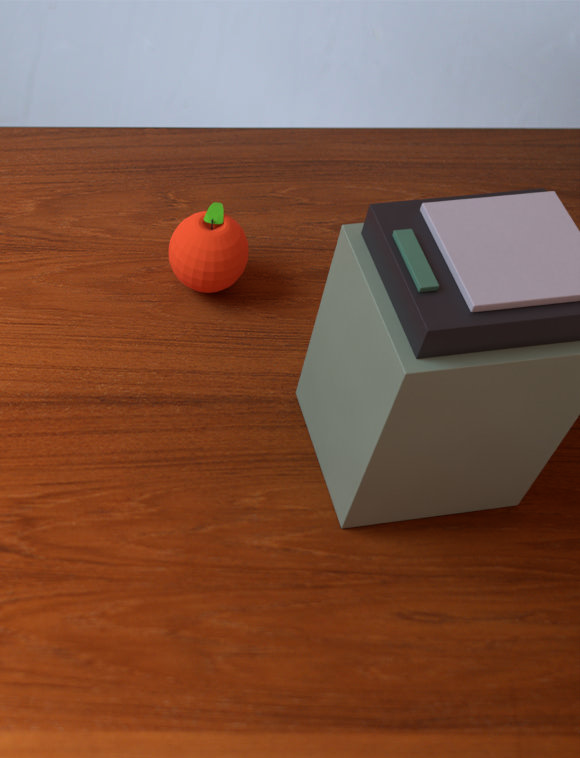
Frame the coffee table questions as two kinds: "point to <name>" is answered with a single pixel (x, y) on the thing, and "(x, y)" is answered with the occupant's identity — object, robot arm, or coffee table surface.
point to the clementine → (208, 250)
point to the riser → (423, 407)
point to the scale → (479, 270)
